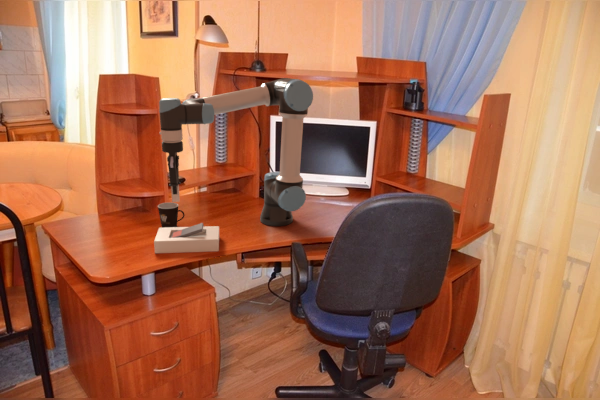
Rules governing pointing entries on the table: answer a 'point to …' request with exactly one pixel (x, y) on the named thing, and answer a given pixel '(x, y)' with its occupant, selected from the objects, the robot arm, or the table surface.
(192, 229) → the breaker rocker
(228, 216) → the table surface
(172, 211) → the coffee mug
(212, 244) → the breaker panel
